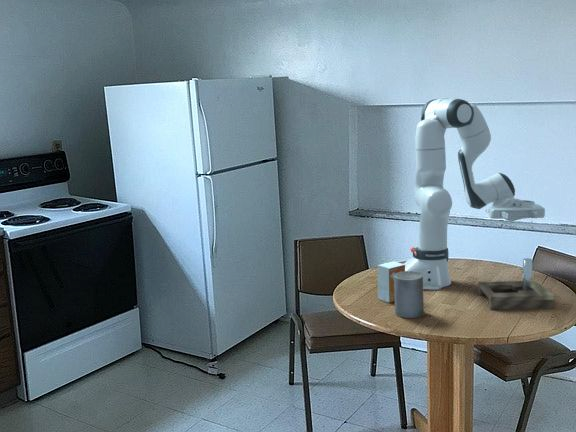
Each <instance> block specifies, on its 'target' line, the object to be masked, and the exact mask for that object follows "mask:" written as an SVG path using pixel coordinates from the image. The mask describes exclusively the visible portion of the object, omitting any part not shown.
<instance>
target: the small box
mask: <svg viewBox="0 0 576 432" xmlns="http://www.w3.org/2000/svg"><path fill="white" fill-rule="evenodd" d="M404 271H405V264H404V263H401V262H398V261H394V260H393V261H389V262H385V263H382V264H381V263H380V264H378V265H377V300H381V301H383V302H385V303H393V302H394V303H395V292H394V275H395V274H396V273H399V272H404Z"/></svg>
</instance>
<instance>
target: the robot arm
mask: <svg viewBox="0 0 576 432" xmlns="http://www.w3.org/2000/svg"><path fill="white" fill-rule="evenodd" d="M455 128H456V130H457V133H458V135H459V138H460V142H461V144H460V149H459V150H458V152H457V159H458V165H459V169H460V173H461V179H462V183H463V189H464V196H465V200H466V203H467V204H468V205H469V207H470V208H471V209H472V208H473V209H477V210H481V209H483V208H485V207H486V206H487V205H489V204H491V206H489V207H488V209H485V212H486V213H487V214H488V216H489V218H491V219H492V220H493V219H495V220H497V219H499V220H501V219H505V220H506V221H508V222H515V221H519V220H523V219H543V218H545V216H546V210H545V208H544V207H543V206H542V205H540V204H537V203H536V202H535V201H534V200H523V199H520V198H515V195H516V189H515V185H514V184H513V182H512V180H511V179H510V177H508V176H507V175H506V174H504V173H502V172H497V173H495V174H493V175H490V176H489V177H487V178H484V179H482V180H480V181H478V182H476V181H475V177H474V172H473V165H474V163H475V162H476V160H477V159H478V158H479V157H480V156H481V155H482V154H483V153H484V152H485V151H486V150H487V148H489V146H490V144H491V140H492V135H491V132H490V128H489V126H488V123H487V121H486V119H485V117H484V115H483V113H482V112H481V110H480V109H479V107H478V106H477V105H476V104H474V103H470V102H468V101H467V100H465V99H461V98H450V97H449V98H439V99H438V98H436V99H431V100H429V101H427V102H426V103H424V105H423V107H422V109H421V117H420V121H419V122H418V123H417V125H416V131H415V140H414V150H415V152H414V153H415V166H416V167H415V168H416V169H415V178H414V179H415V180H414V192H413V196H414V197H413V198H414V202H415V203H416V205H417V206H418V207H419V208H420V217H419V224H418V226H417V247H415V246H411V247H410V251H411V252H410V253H412V257H410V258H409V259H408V260H406V261H405V262H404V263H403V264H405V271H413V272H419V273H421V274H422V275H423V290H433V291H435V290H441V289H442V288H445V287H448V286H450V285H451V284H452V280H451V276H450V272H449V265H448V263H449V252H450V251H449V247H448V226H449V225H448V224H449V219H450V213H451V210H452V207H453V198H452V197H451V194H450V192H449V191H448V190H447V189H445V188H444V178H445V172H446V169H447V160H446V139H445V134H446V130H447V129H455Z"/></svg>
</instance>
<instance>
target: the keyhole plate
mask: <svg viewBox="0 0 576 432" xmlns="http://www.w3.org/2000/svg"><path fill="white" fill-rule="evenodd" d="M522 285H523V280H512V281H511V280H509V281H508V280H507V281H480V282H478V296H480V297H481V296H482V297H487V298H488V301H489V302H488V303H489V305H488V308H489V309H490V311H496V310H498V311H499V310H526V309H527V310H528V309H529V310H530V309H554V306H555V305H554V303H555V295H554V294H553V293H552V292H551V291H549V289H548V288H546V287H545V286H544V285H542V283H540V282H539V281H538V280H532V289H531V290H522Z"/></svg>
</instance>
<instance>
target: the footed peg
mask: <svg viewBox="0 0 576 432" xmlns="http://www.w3.org/2000/svg"><path fill="white" fill-rule="evenodd" d="M522 281H523V285H522V290H531V289H532V281H533V258H532V259H531V258H529V257H528V258H523V259H522Z"/></svg>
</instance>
